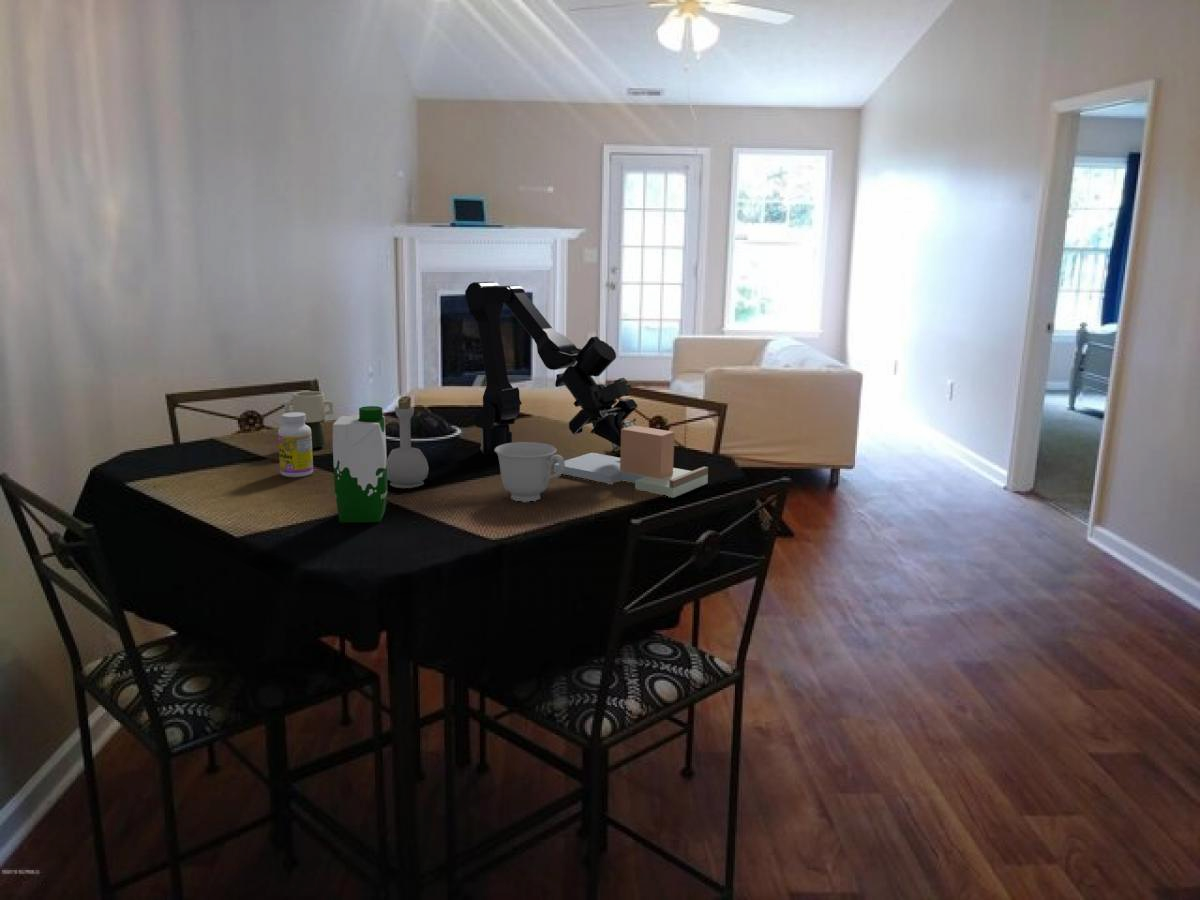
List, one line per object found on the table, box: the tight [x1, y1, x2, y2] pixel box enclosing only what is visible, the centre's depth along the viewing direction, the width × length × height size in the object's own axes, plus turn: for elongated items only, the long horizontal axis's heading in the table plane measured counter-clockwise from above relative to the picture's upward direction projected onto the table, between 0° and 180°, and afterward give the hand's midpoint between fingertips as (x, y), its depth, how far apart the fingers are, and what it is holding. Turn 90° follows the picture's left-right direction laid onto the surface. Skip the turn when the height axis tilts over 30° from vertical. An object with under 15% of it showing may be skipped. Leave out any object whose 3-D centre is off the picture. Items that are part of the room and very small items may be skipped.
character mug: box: [283, 390, 335, 449], centre depth 218 cm, size 11×7×13 cm, turn 103°
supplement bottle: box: [277, 412, 314, 478], centre depth 195 cm, size 7×7×13 cm
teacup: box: [495, 441, 565, 503], centre depth 180 cm, size 12×15×10 cm
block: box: [619, 424, 676, 479], centre depth 194 cm, size 10×5×9 cm, turn 55°
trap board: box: [553, 452, 709, 499], centre depth 198 cm, size 30×14×4 cm, turn 55°
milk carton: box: [332, 405, 388, 524], centre depth 166 cm, size 9×9×20 cm
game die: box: [610, 417, 637, 451], centre depth 221 cm, size 9×8×10 cm
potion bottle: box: [387, 395, 430, 489], centre depth 188 cm, size 9×9×18 cm
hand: (626, 447), depth 197 cm, fingers closed
